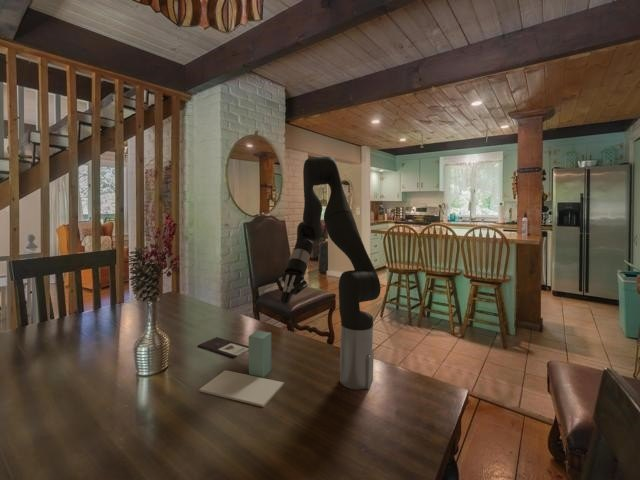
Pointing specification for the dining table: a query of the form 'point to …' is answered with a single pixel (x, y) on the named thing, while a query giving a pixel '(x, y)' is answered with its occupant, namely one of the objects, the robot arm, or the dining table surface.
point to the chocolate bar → (224, 347)
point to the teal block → (259, 353)
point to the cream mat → (243, 388)
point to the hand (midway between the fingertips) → (283, 303)
